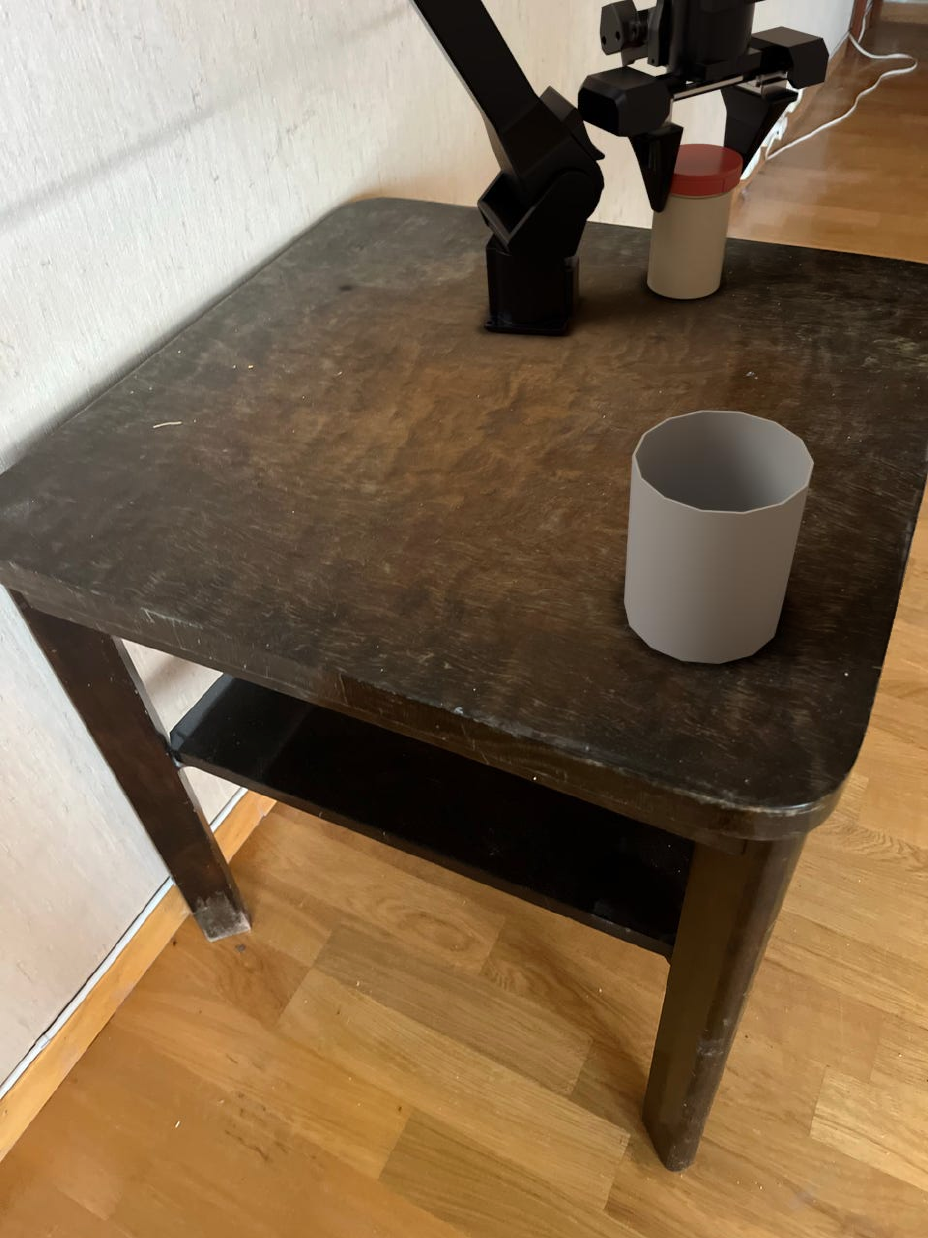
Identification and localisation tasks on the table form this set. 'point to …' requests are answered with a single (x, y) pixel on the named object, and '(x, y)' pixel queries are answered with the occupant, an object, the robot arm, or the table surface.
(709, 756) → the table surface
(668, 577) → the cup
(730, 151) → the lid
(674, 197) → the jar
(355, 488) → the table surface
